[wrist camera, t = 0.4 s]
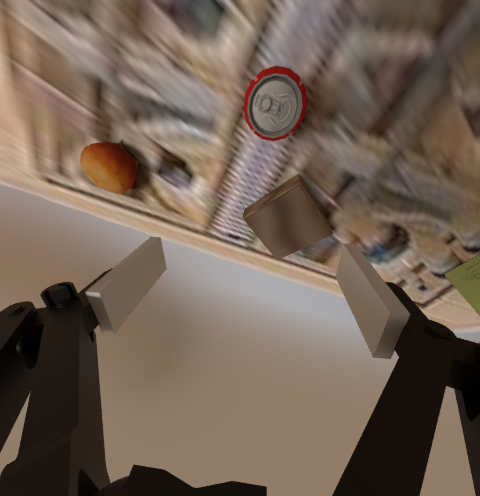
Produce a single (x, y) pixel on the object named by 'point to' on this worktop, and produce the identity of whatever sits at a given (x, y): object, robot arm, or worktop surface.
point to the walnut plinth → (287, 219)
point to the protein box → (467, 281)
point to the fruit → (109, 166)
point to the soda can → (275, 103)
